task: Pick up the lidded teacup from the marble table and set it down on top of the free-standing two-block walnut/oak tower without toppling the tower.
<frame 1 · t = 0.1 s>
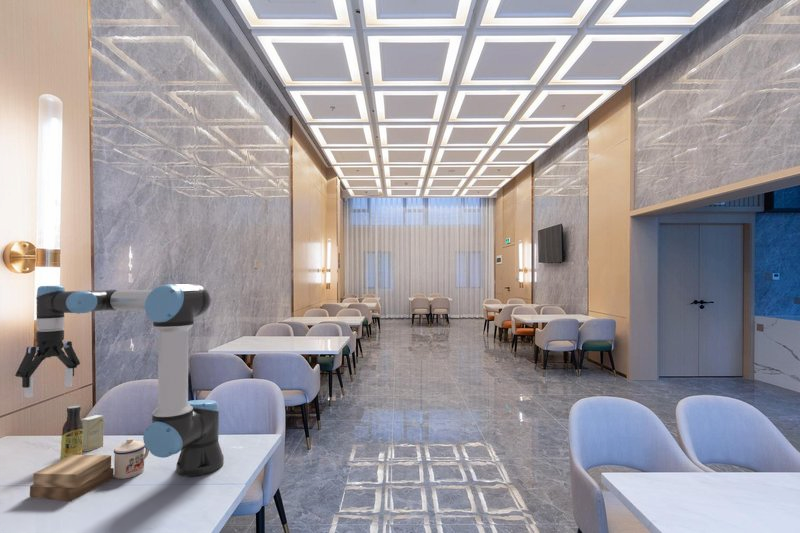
hand: (49, 391, 146), 28 cm above the table, fingers open, 13 cm apart
tower top block: (73, 476, 135), point 3 cm above the table, touching tower base block
sauce bottle: (71, 462, 154), on the table
skincare box: (92, 448, 167), on the table
tower base block: (73, 489, 135), on the table, touching tower top block
teacup with lid: (133, 471, 146), on the table
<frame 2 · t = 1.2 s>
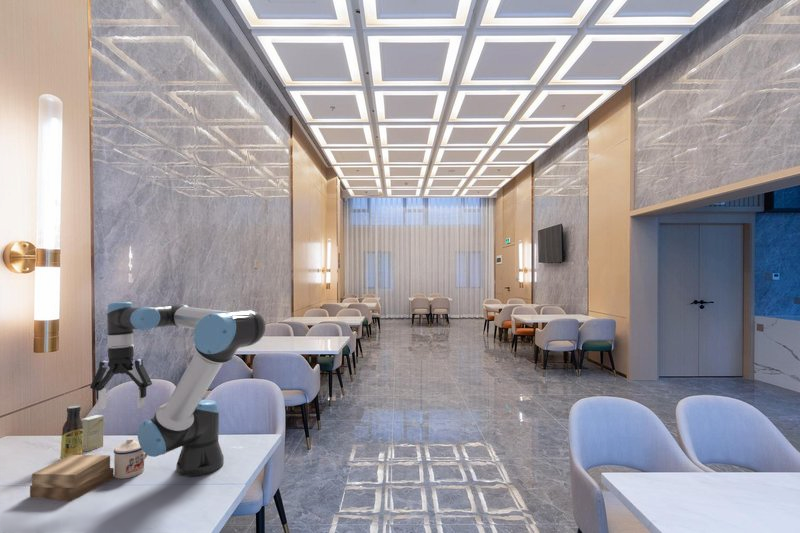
hand: (121, 408, 146), 22 cm above the table, fingers open, 13 cm apart
nothing on the table moved.
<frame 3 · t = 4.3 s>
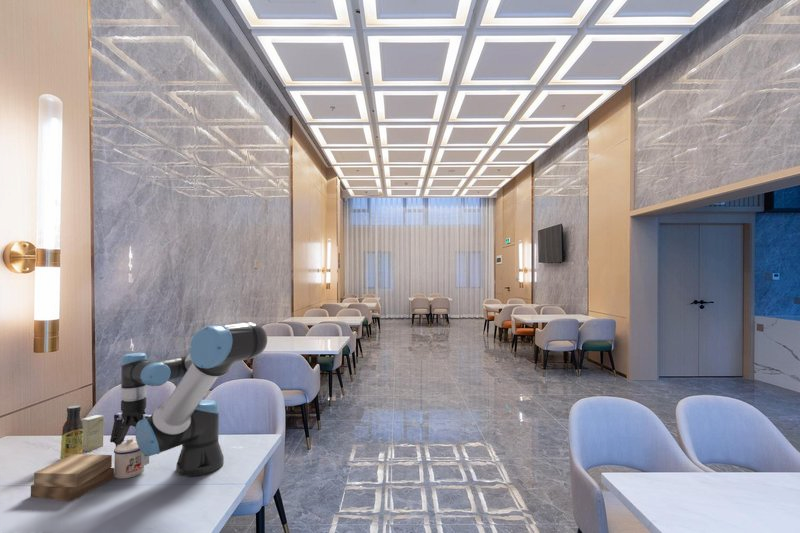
hand: (133, 463, 146), 3 cm above the table, fingers closed on teacup with lid, 9 cm apart
tower top block: (74, 476, 135), point 3 cm above the table
tower base block: (74, 489, 135), on the table
teacup with lid: (133, 471, 146), on the table, touching gripper
everything else where it was.
when the fingers open (11 cm above the table, at t = 11.3 s): teacup with lid stays where it is, resting on tower top block.
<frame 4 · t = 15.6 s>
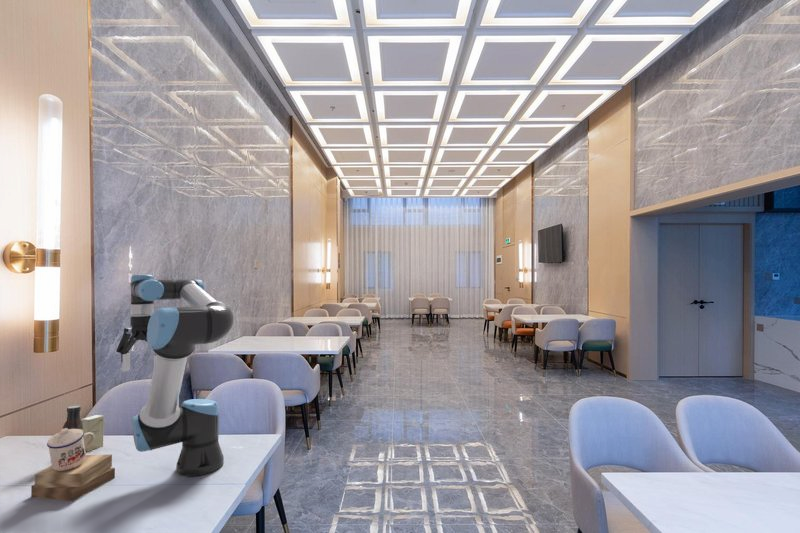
hand: (141, 371, 159), 32 cm above the table, fingers open, 13 cm apart
tower top block: (75, 476, 135), point 3 cm above the table, touching teacup with lid, tower base block
tower base block: (74, 489, 135), on the table, touching tower top block
teacup with lid: (75, 460, 135), point 8 cm above the table, touching tower top block
everything else where it was.
at the end: teacup with lid inside the target area on the tower base block (0.4 cm from its centre), point 8.6 cm above the tower base block's base; teacup with lid tilted 13°; tower top block moved 0.9 cm from its start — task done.
